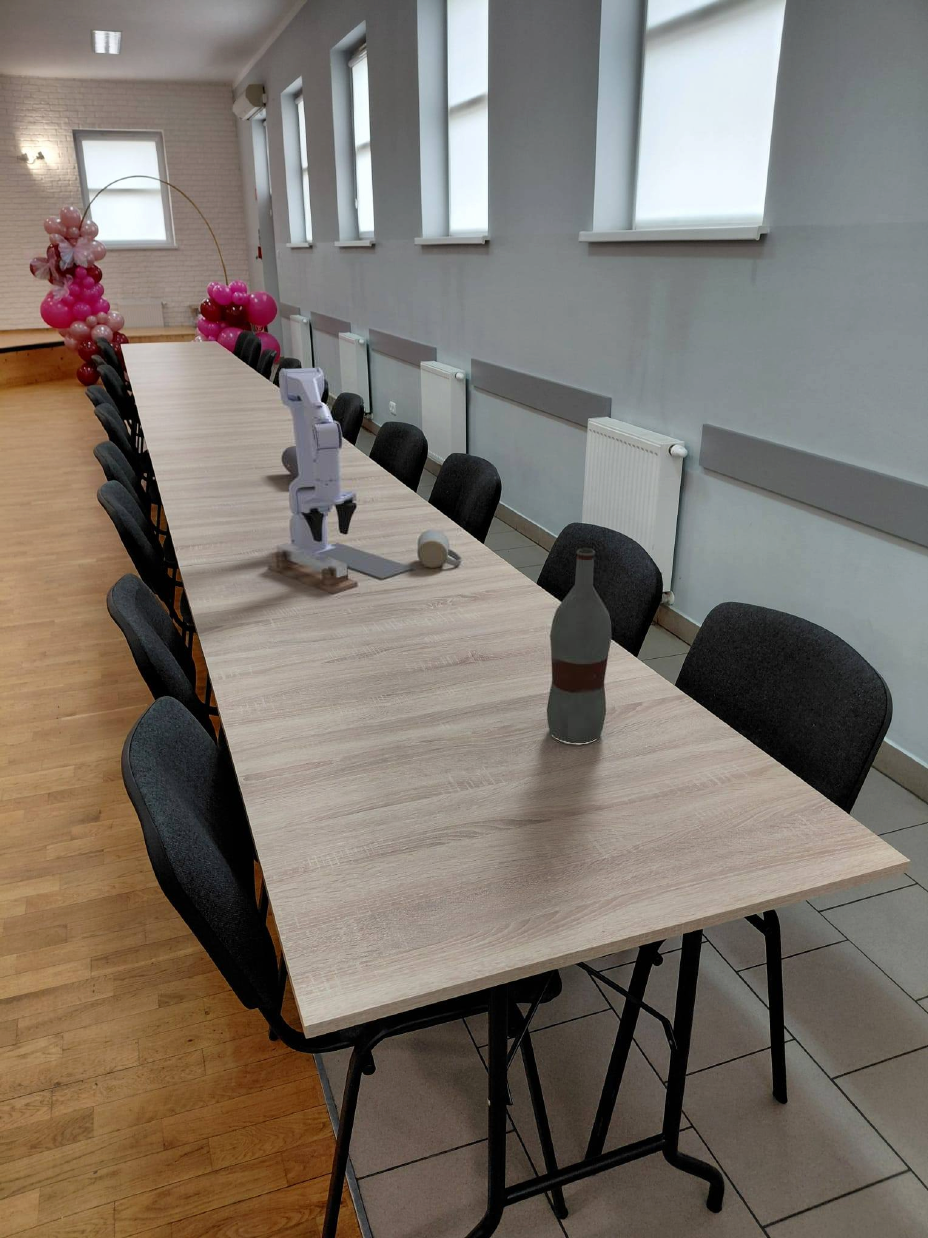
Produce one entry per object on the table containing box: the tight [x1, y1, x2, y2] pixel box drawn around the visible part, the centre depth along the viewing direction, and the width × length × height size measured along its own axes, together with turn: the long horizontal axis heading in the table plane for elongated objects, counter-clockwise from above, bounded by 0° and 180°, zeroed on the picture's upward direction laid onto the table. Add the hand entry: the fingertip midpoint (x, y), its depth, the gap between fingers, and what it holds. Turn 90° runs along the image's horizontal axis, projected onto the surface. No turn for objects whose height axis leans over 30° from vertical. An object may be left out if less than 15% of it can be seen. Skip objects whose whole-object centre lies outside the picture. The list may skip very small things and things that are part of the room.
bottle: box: [546, 547, 613, 743], centre depth 135 cm, size 9×9×30 cm
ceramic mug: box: [416, 528, 463, 569], centre depth 215 cm, size 11×8×8 cm
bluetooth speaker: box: [281, 445, 299, 479], centre depth 289 cm, size 23×9×10 cm, turn 25°
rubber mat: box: [317, 542, 415, 581], centre depth 218 cm, size 28×10×1 cm, turn 47°
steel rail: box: [276, 542, 347, 578], centre depth 205 cm, size 22×3×2 cm, turn 47°
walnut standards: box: [268, 551, 359, 595], centre depth 206 cm, size 24×7×4 cm, turn 47°
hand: (330, 537), depth 204 cm, fingers open, 7 cm apart
